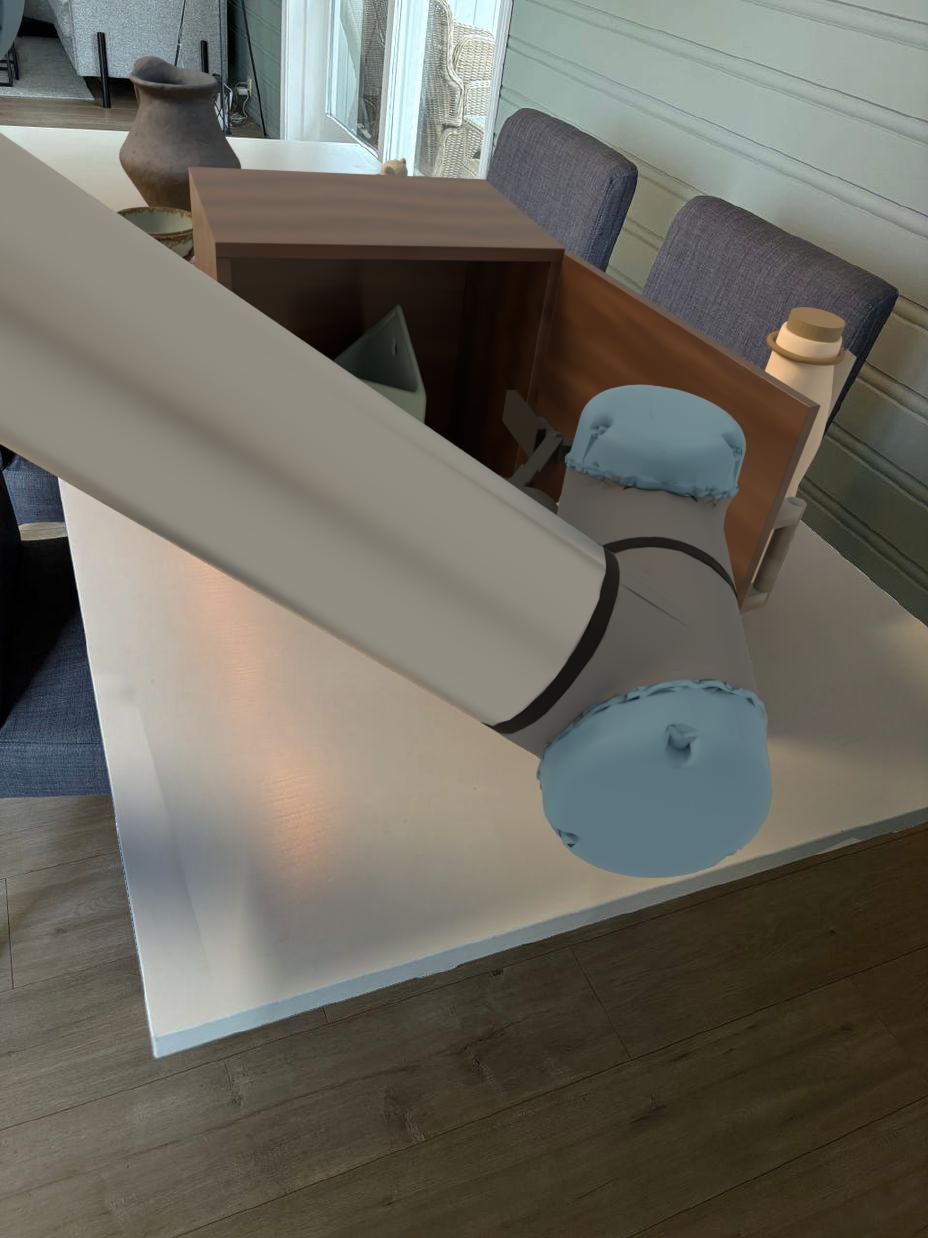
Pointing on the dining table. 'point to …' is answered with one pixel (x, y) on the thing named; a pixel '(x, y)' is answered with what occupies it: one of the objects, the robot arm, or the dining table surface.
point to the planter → (388, 363)
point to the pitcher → (172, 132)
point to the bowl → (165, 227)
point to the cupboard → (394, 280)
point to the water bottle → (810, 372)
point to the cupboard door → (694, 363)
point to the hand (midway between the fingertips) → (428, 407)
